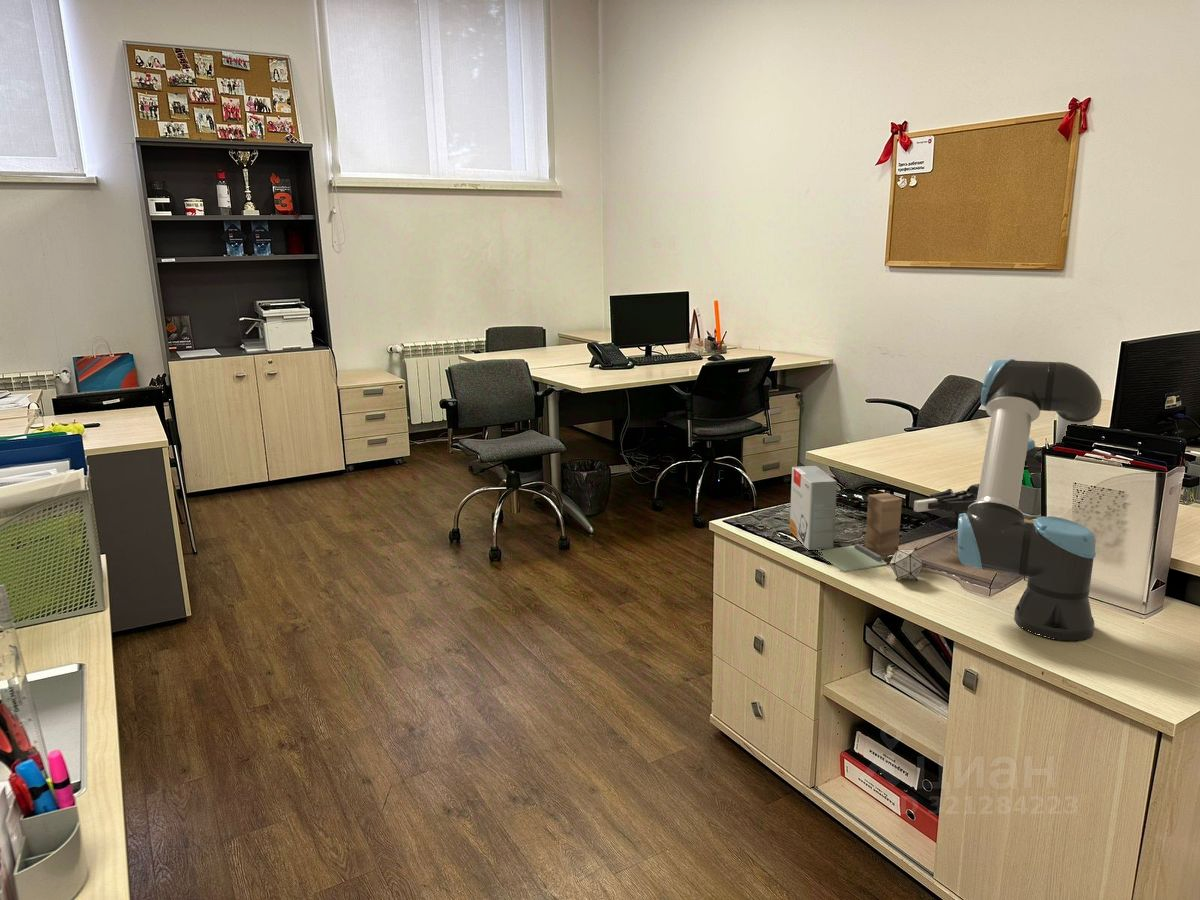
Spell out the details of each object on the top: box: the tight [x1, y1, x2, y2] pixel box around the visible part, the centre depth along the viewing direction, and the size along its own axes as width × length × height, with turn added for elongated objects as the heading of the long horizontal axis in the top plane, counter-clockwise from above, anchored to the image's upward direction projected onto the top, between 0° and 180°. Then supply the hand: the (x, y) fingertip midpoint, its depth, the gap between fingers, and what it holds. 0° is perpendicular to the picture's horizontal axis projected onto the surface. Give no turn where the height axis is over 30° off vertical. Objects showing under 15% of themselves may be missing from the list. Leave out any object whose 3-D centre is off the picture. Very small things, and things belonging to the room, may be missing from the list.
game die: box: [886, 546, 928, 582], centre depth 200 cm, size 9×8×10 cm
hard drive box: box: [789, 465, 838, 551], centre depth 225 cm, size 16×8×20 cm, turn 6°
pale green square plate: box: [816, 543, 888, 573], centre depth 214 cm, size 14×13×2 cm
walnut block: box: [864, 492, 903, 560], centre depth 215 cm, size 6×6×16 cm
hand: (915, 506), depth 218 cm, fingers closed
